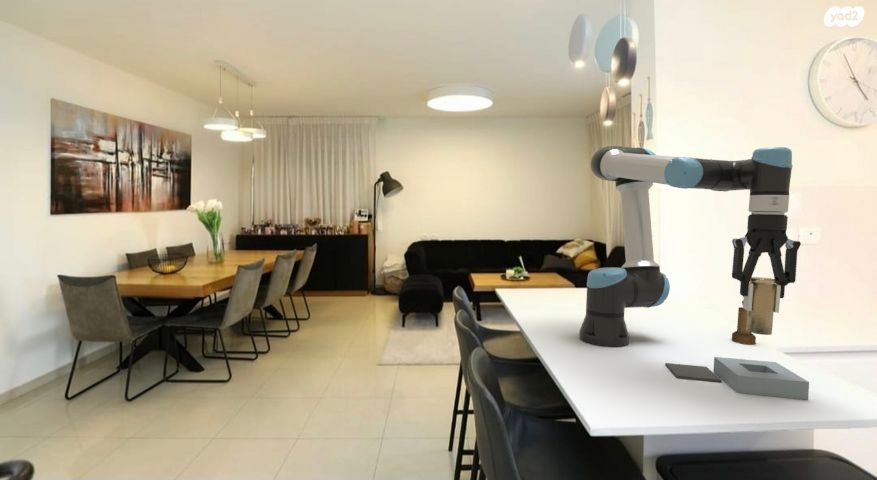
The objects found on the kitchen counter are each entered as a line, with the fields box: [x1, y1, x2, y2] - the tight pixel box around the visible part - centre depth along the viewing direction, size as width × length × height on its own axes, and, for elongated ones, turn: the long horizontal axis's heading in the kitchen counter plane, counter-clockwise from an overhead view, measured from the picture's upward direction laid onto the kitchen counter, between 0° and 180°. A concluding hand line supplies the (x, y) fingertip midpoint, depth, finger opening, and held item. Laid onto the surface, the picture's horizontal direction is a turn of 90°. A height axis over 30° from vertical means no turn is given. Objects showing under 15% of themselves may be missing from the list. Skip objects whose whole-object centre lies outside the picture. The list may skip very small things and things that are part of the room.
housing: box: [712, 356, 810, 400], centre depth 105 cm, size 14×14×4 cm
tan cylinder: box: [746, 276, 776, 336], centre depth 105 cm, size 5×5×13 cm
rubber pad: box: [664, 362, 723, 383], centre depth 112 cm, size 10×10×1 cm
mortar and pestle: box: [731, 296, 757, 346], centre depth 144 cm, size 7×6×18 cm
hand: (760, 310), depth 105 cm, fingers closed on tan cylinder, 5 cm apart
